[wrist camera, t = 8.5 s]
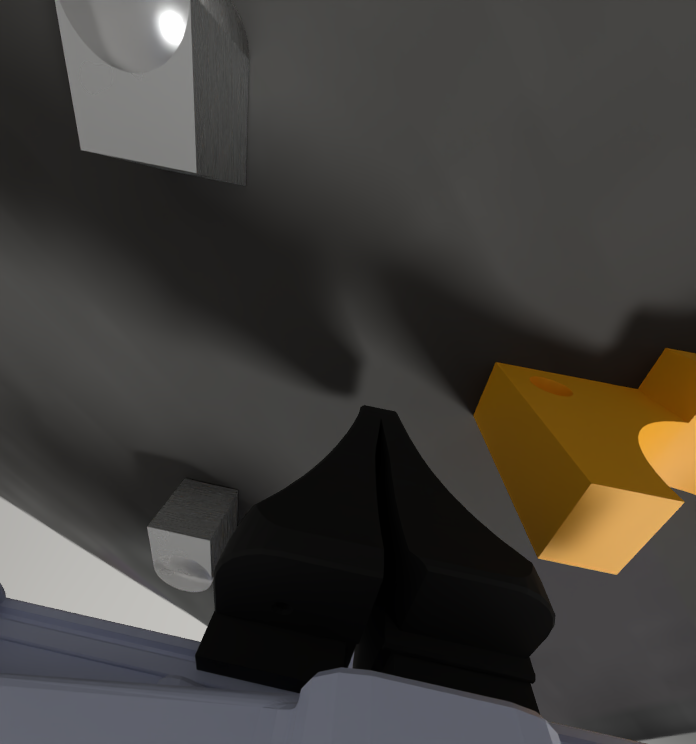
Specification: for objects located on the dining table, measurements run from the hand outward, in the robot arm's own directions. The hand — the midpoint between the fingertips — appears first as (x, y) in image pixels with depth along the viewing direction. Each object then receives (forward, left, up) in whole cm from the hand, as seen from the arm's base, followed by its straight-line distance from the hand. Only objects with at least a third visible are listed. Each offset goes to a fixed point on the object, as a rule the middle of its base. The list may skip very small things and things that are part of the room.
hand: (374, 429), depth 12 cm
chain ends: (0, +8, -2) cm, 8 cm away
